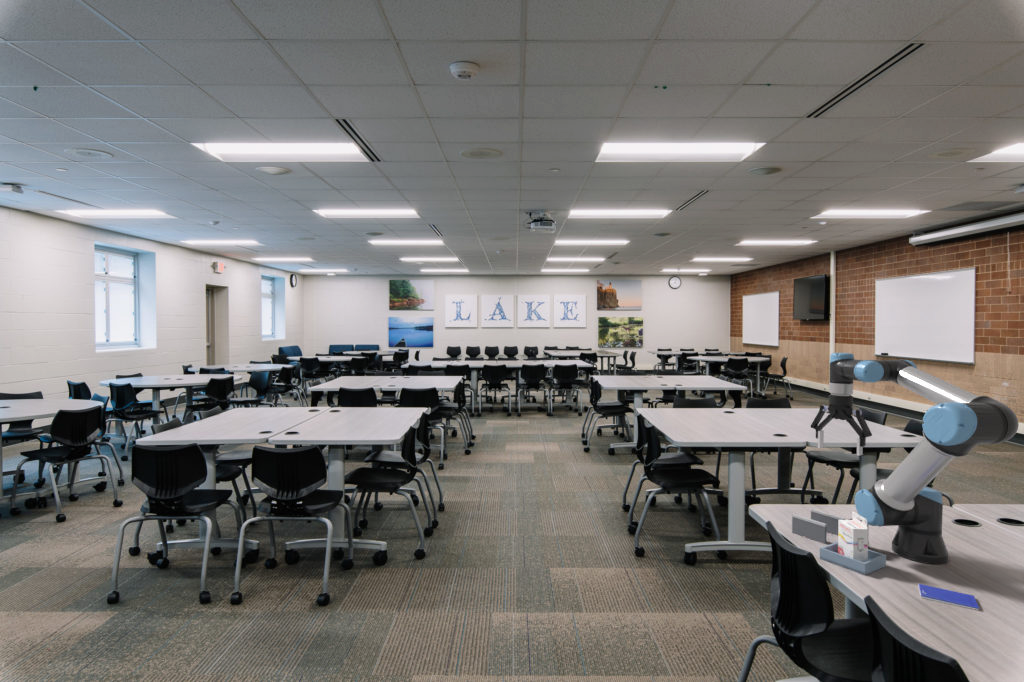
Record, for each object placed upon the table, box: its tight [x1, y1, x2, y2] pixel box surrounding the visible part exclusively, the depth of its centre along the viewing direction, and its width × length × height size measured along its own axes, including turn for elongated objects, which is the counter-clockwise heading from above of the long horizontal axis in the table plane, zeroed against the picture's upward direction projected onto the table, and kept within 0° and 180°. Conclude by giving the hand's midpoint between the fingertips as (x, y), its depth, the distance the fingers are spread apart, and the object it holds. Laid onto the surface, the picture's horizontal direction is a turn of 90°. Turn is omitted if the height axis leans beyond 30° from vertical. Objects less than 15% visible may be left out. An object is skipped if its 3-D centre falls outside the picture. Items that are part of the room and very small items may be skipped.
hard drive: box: [917, 583, 980, 610], centre depth 149 cm, size 2×8×12 cm
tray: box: [819, 541, 887, 576], centre depth 171 cm, size 14×13×4 cm
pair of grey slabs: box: [791, 508, 846, 544], centre depth 195 cm, size 12×13×7 cm
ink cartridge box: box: [837, 511, 869, 562], centre depth 171 cm, size 9×5×15 cm, turn 179°
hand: (839, 451), depth 196 cm, fingers open, 13 cm apart
